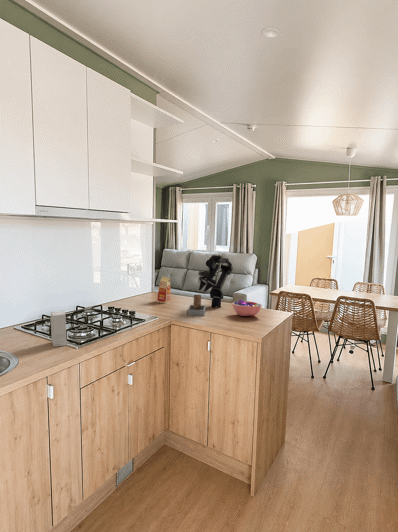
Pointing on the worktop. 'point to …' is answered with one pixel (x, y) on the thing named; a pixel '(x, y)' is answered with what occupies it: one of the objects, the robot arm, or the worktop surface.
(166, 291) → the milk carton
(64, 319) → the skincare box
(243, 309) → the cell model
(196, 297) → the walnut cylinder
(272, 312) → the worktop surface
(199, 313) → the box
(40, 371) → the worktop surface
